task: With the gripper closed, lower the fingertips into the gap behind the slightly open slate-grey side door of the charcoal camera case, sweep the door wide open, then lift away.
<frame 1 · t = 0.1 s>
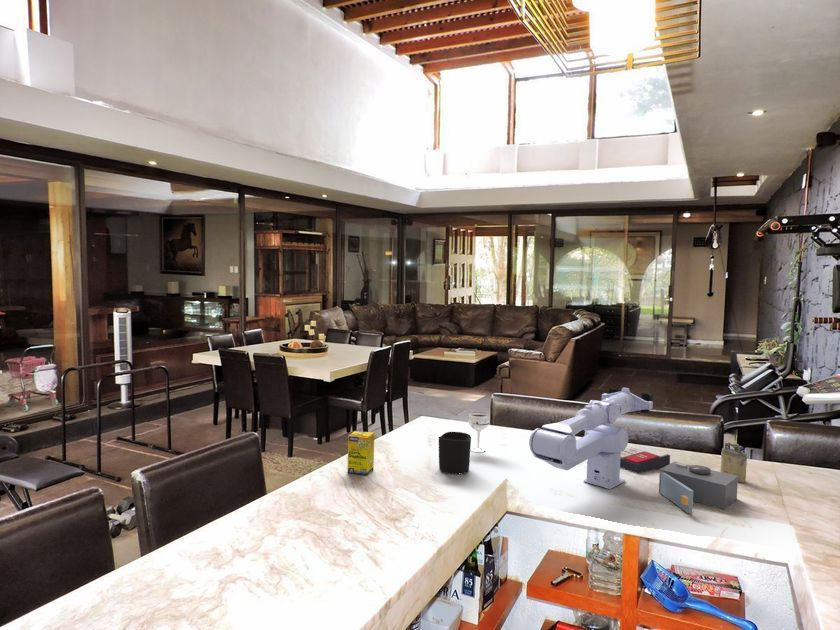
hand: (638, 395, 170), 22 cm above the counter, tool horizontal, fingers open, 7 cm apart
supplement box: (360, 472, 162), on the counter
camera case: (697, 495, 148), on the counter
lighter: (732, 479, 161), on the counter
side door: (673, 491, 142), point 3 cm above the counter, hinge at 40.0°
wineglass: (478, 451, 184), on the counter
pen holder: (453, 470, 165), on the counter
calculator: (638, 466, 173), on the counter
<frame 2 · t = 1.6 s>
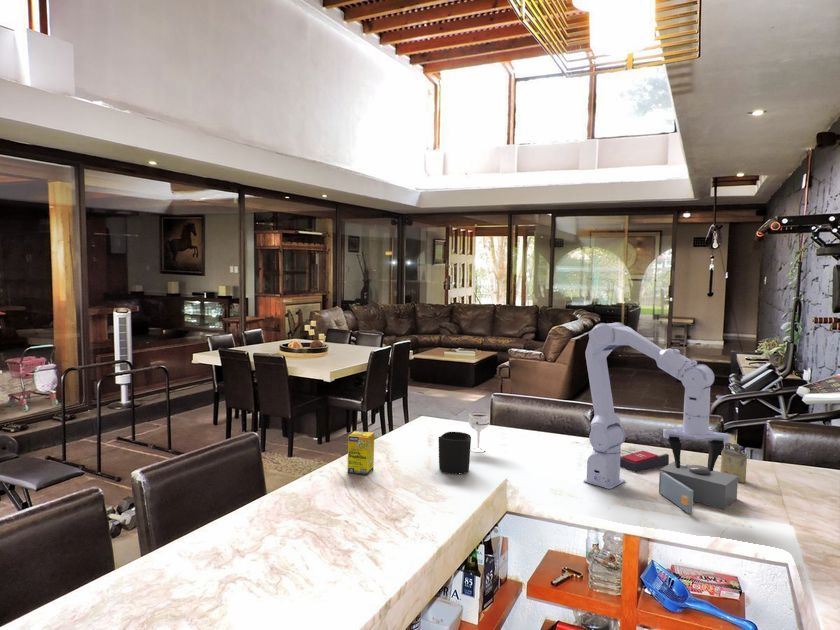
hand: (693, 468, 140), 9 cm above the counter, tool pointing down, fingers open, 7 cm apart
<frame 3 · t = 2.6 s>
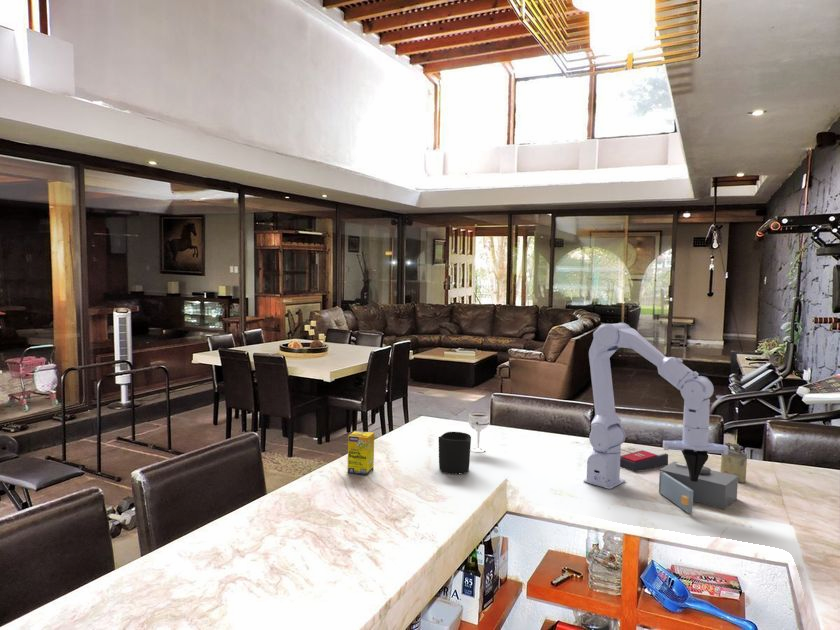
hand: (693, 480, 141), 6 cm above the counter, tool pointing down, fingers closed
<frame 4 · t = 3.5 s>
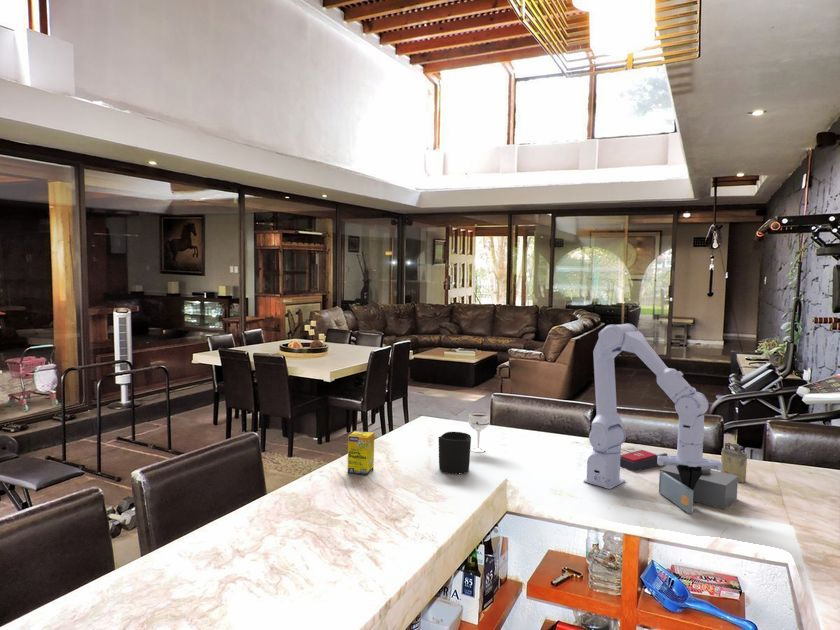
hand: (687, 495, 141), 2 cm above the counter, tool pointing down, fingers closed
side door: (673, 491, 142), point 3 cm above the counter, hinge at 40.0°, touching gripper
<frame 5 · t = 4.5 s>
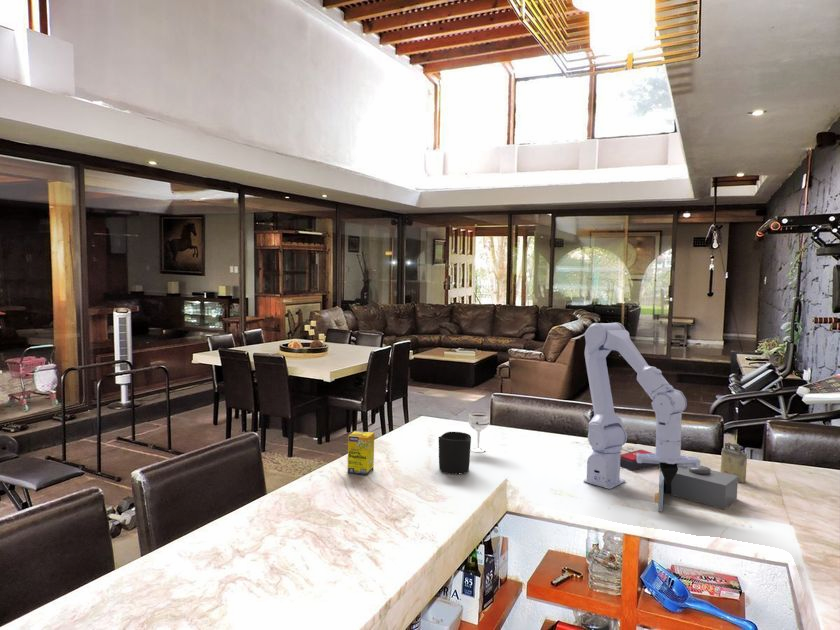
hand: (667, 492, 142), 3 cm above the counter, tool pointing down, fingers closed, pressing on side door
side door: (659, 490, 143), point 3 cm above the counter, hinge at 69.7°, touching gripper
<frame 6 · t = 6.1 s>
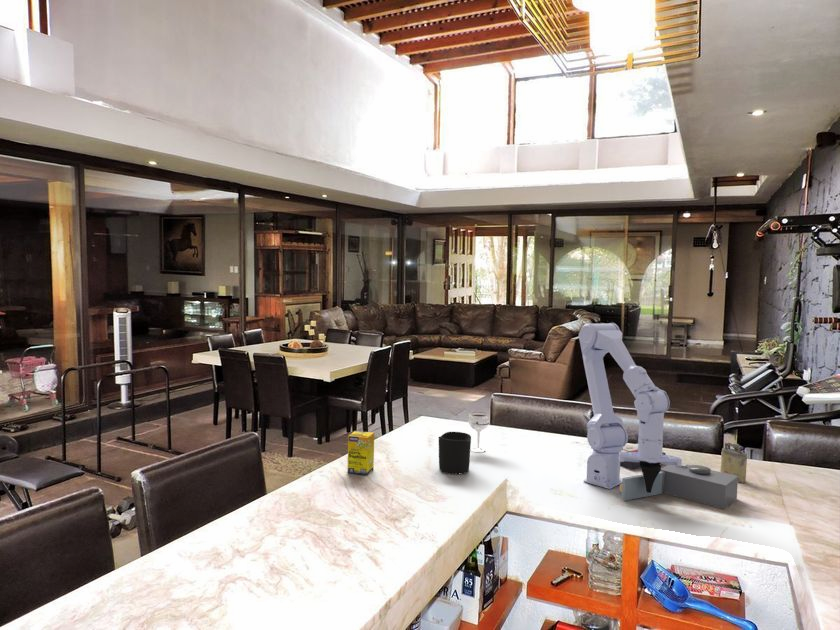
hand: (648, 491, 143), 3 cm above the counter, tool pointing down, fingers closed
side door: (642, 485, 146), point 3 cm above the counter, hinge at 110.2°, touching gripper
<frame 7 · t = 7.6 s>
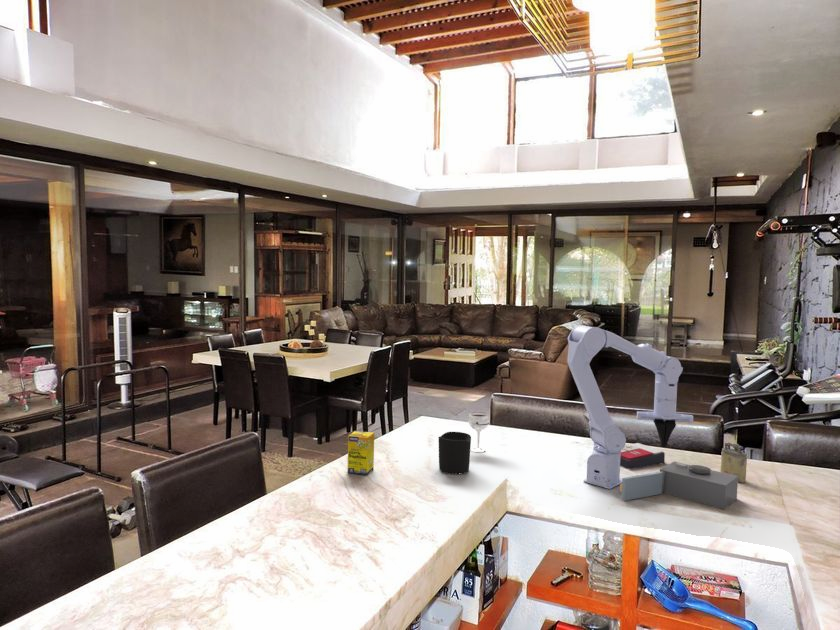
hand: (663, 446, 160), 9 cm above the counter, tool pointing down, fingers closed
side door: (642, 485, 146), point 3 cm above the counter, hinge at 110.2°
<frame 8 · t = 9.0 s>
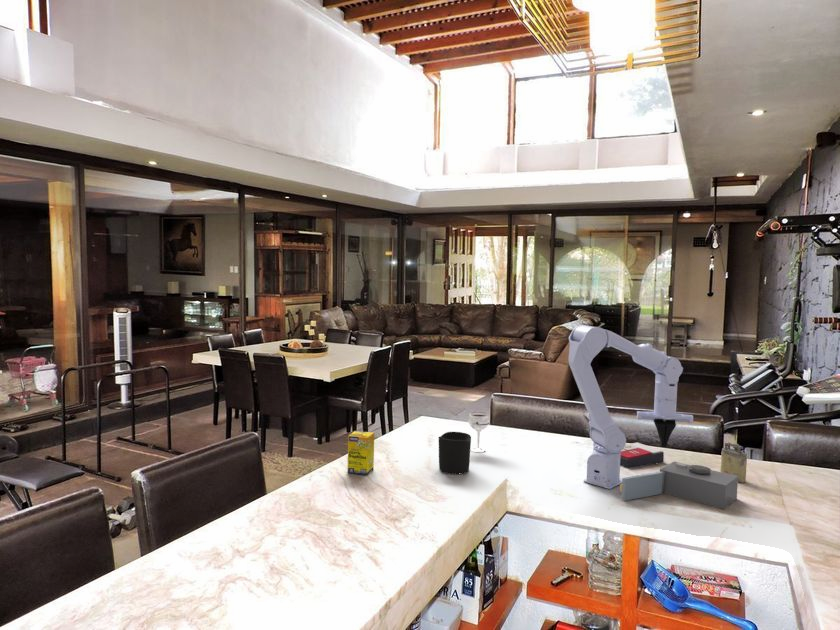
hand: (663, 446, 160), 9 cm above the counter, tool pointing down, fingers closed
at the end: side door at +110° (first picture: +40°); lighter moved 0.2 cm from its start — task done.
